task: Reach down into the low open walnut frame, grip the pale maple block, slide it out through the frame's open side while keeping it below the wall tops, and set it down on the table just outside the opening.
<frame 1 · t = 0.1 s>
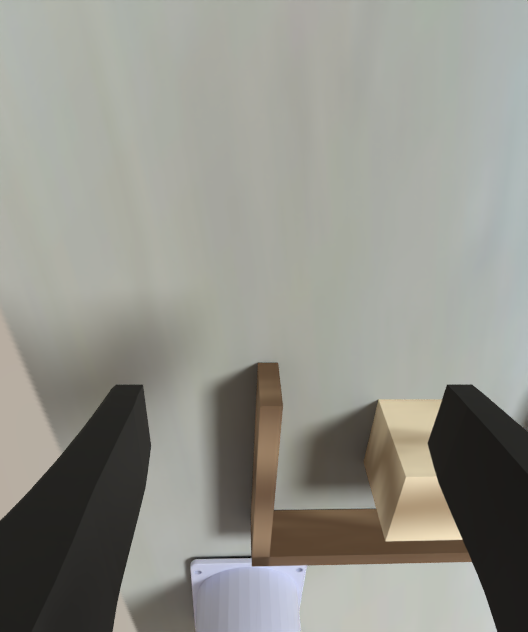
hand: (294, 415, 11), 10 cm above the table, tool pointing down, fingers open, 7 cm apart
maple block: (413, 431, 27), on the table
open walnut frame: (410, 445, 27), on the table
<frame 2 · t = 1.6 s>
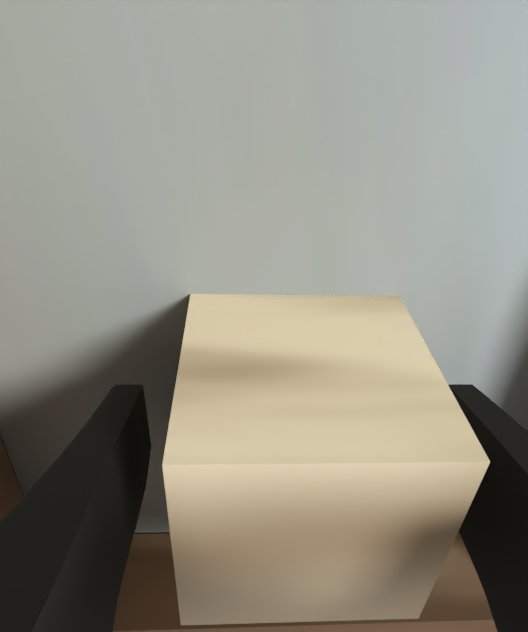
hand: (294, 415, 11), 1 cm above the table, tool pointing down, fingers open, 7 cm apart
maple block: (288, 373, 13), on the table
open walnut frame: (286, 404, 13), on the table
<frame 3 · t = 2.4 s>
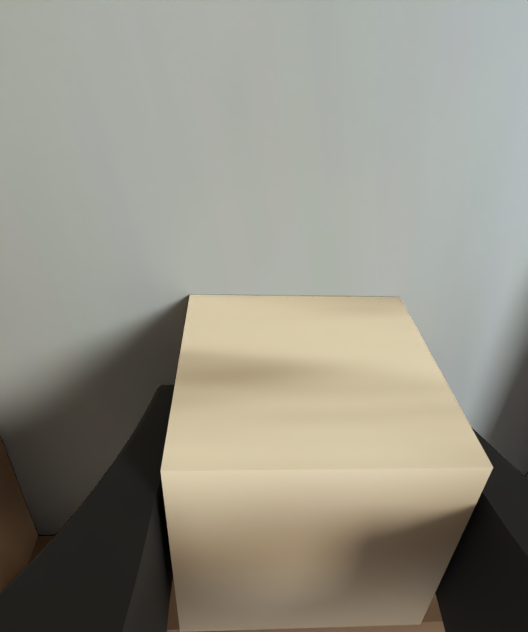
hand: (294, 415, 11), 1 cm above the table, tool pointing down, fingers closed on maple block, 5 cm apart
maple block: (288, 376, 13), on the table, touching gripper
open walnut frame: (286, 404, 13), on the table
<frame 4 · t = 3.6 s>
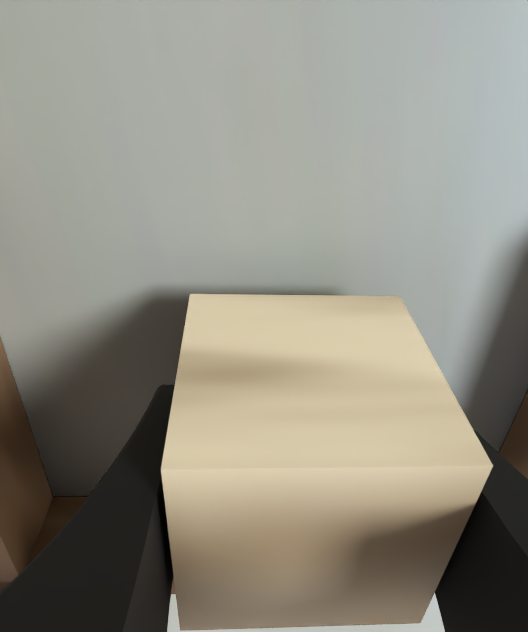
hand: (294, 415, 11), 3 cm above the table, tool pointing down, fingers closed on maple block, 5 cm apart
maple block: (288, 375, 13), point 1 cm above the table, touching gripper
open walnut frame: (282, 369, 14), on the table
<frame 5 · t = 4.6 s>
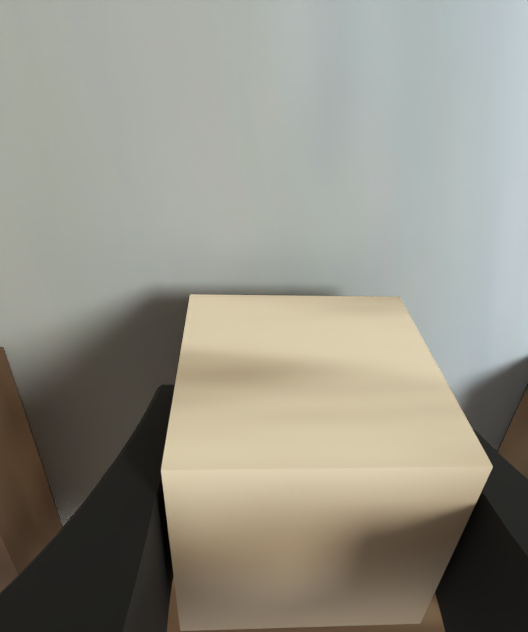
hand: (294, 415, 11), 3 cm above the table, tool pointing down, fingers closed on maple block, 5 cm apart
maple block: (288, 376, 13), point 2 cm above the table, touching gripper
open walnut frame: (273, 479, 17), on the table
when the fingers open (2 cm above the table, at t = 6.4 s): maple block drops 1 cm, on the table.
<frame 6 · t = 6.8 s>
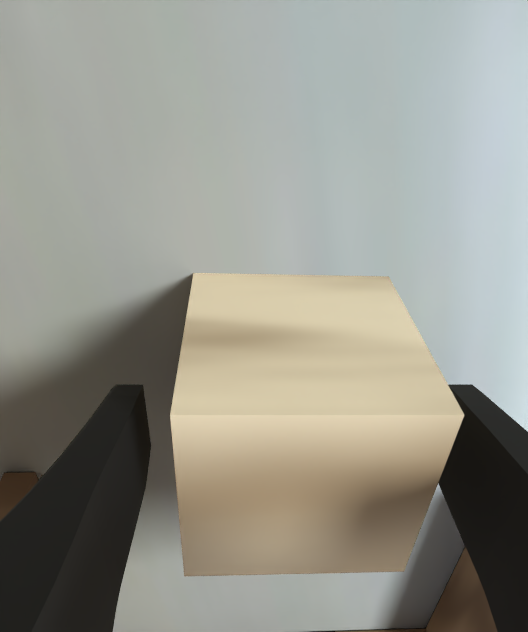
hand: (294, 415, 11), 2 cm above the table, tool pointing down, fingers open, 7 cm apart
maple block: (285, 350, 14), on the table
open walnut frame: (268, 565, 19), on the table
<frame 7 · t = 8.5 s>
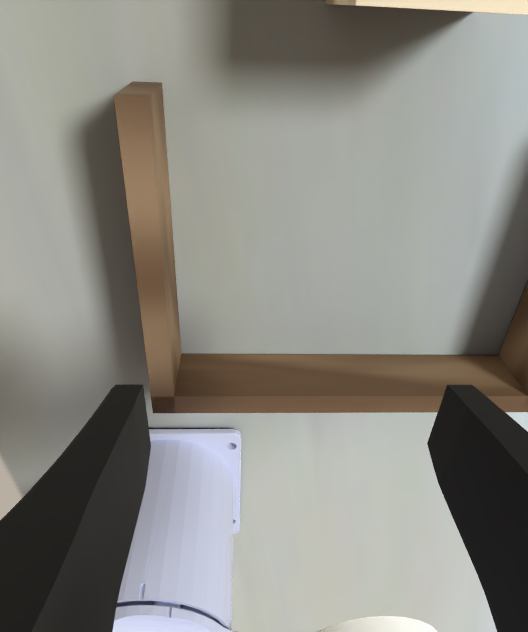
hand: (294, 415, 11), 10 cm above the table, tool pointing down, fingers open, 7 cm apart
open walnut frame: (361, 244, 20), on the table
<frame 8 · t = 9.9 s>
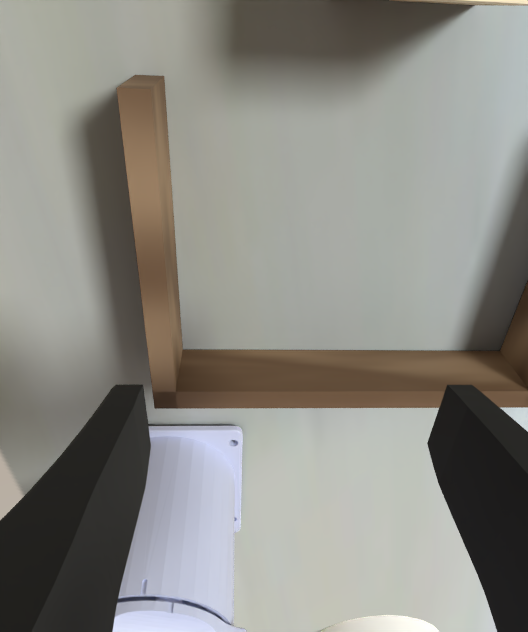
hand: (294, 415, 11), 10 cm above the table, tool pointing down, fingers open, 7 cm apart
open walnut frame: (363, 239, 20), on the table
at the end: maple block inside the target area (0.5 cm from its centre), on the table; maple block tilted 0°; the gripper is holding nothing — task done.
